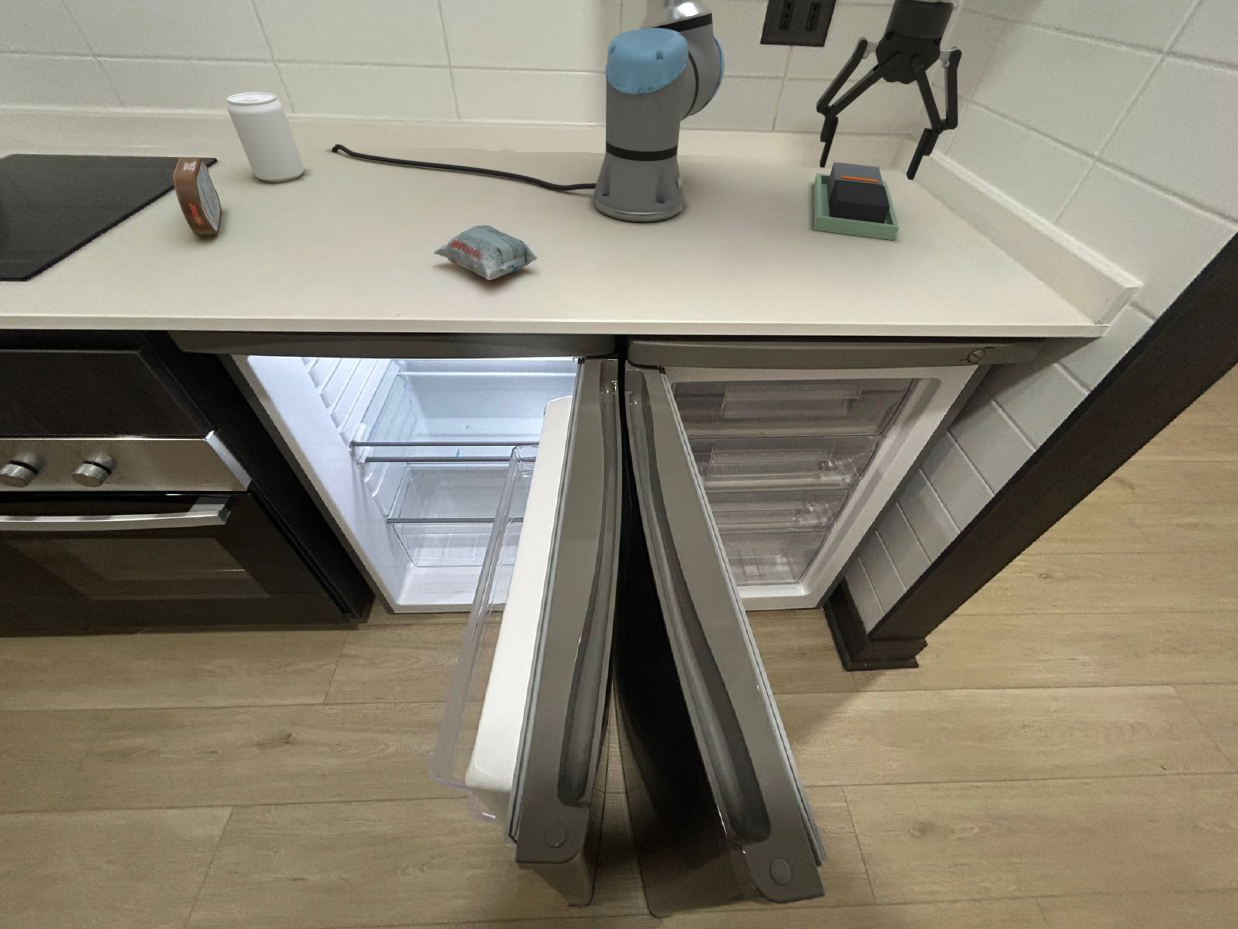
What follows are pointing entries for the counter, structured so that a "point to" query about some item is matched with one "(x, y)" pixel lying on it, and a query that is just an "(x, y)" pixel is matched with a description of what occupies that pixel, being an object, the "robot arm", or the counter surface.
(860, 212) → the loose pad
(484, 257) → the packaged food
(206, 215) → the tin
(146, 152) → the counter surface
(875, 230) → the green tray
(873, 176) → the pad
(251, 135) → the beverage can
